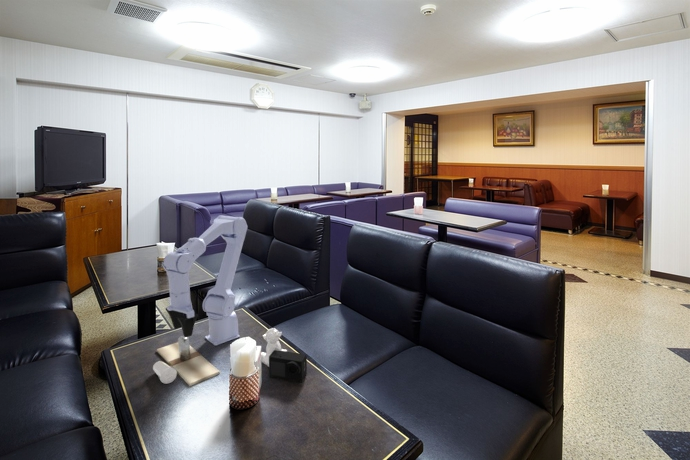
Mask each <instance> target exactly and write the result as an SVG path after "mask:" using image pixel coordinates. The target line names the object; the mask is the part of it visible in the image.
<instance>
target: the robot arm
mask: <svg viewBox="0 0 690 460" xmlns="http://www.w3.org/2000/svg"><path fill="white" fill-rule="evenodd" d="M248 227H249V226H248V224H247V221H246V219H245V218H244V217H242V216H239V217H238V216H228V215H223V214H221V215H220V214H219V215H218V216H217V217H216V218H214V219H213V222H212V225H210V226H209V227H208V228H207V229H206V230H205V231H204V232H203V233H202V234H201V235H199V237H190V238H188V239H187V242H186V243H184V244H182V246H181V247H179V248H177V250H175V251H171V252H169V253H168V254H166V255H165V256H164V259H163V262H162V268H163V269H164V271H165V272H166V276H167V278H168V289H169V290H168V291H169V298H168V305H169V306H166V307H165V311H166V313H167V314H168V315H169V317H170V320H171V322H172V326H173V328H174V329H175V330H177V329H180V328H181V329H182V334H183V335H182V336H184V337H189V338H190V337H191V336H193V332H194V326H195V323H196V321H197V319H198V318H199V314H198V313H197V312H195V310H194V309H193V305H192V304H193V303H192V300H191V289H190V274H189V273H190V272H189V271H191V269H192V268H193V264H195V263H194V262H195V261H196V260H197V259H198V258H199V257H200V256H202V255H203V254H204V253H205V252H206V250H207V246H208V245H209V244H210V243H212V242H214V241H215V240H216V239H217V238H219V237H220V236H221V238H222V239H223V240H224V241H225V243H226V247H225V250H224V254H223V256H222V261H221V264H220V267H219V268H220V269H219V271H218V274H217V278H216V282H215V286H213V287H211V289H209V290H207V294H206V296H205V297H204V299H203V301H202V310H203V311H204V312H206V316H208V317H207V318H208V329H209V331H208V333H209V334H207V335H205V336H204V338H205V339H206V340H207V341H208V342H210V343H211V344H212V345H213V346H219V345H221V344H223V343H228V342H229V341H231V340H235V339H237V338H239V337H240V334H239V320H238V316H237V314H236V312H235V311H234V310H235V307H236V306H235V305H236V304H235V301H236V295H235V294H234V292H233V291H232V290H231V289H232V285H233V282H234V278H235V274H236V271H237V268H238V263H239V260H240V256H241V252H242V249H243V245H244V241H245V238H246V235H247V231H248Z"/></svg>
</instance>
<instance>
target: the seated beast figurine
mask: <svg viewBox="0 0 690 460" xmlns="http://www.w3.org/2000/svg"><path fill="white" fill-rule="evenodd" d="M282 334H283V332H282V331H279V330H278V329H276V328H275V327H274V328H273V327H272V328H268V330H267V331H266V332H265V333H264V334H262V338H263V340H265V341H266V343H267V344H266V347H265V352H264V351H261V363H262V364H264V365H265V366H267V367H268V368H269V356H270V355H271V353H272V352H273V351H274V350H279V351H287V352H288V350H287V349H283V348H282V345H281V343H280V340H279V339H280V338H281V337H282Z"/></svg>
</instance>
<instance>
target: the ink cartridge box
mask: <svg viewBox="0 0 690 460" xmlns="http://www.w3.org/2000/svg"><path fill="white" fill-rule="evenodd" d="M244 338H245V339H247V338H246V337H245V336H244ZM255 346H256V362H255V361H254V365H255V367H256V369H257V366H258V367H259V394H258V397H256V398H255V399H254V400H253V401H258V400H259V395H260V391H261V387H262V384H263V383H262V382H263V381H262V380H263V378H262V377H263V376H262V373H263V372H262V361H261V352H262V345H255Z"/></svg>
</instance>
